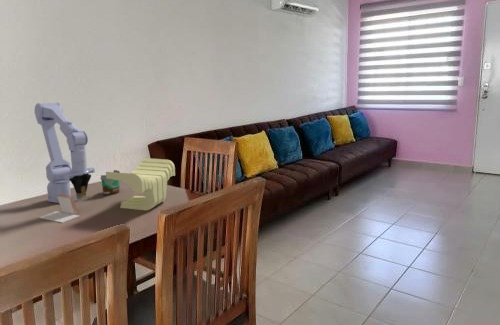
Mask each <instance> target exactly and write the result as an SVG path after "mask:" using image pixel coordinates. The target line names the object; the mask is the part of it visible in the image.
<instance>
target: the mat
mask: <svg viewBox="0 0 500 325" xmlns="http://www.w3.org/2000/svg"><path fill="white" fill-rule="evenodd" d="M79 217H80V215H78V214H76V215H73V214H68V213H63V212H62V211H57V210H55V211H53V212H50V213H47V214H44V215H42V216H39V217H38V218H39V219H42V220H46V221H51V222H56V223H61V224H63V223H67V222H69V221H71V220H74V219H76V218H79Z"/></svg>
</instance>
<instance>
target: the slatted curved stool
mask: <svg viewBox="0 0 500 325" xmlns="http://www.w3.org/2000/svg"><path fill="white" fill-rule="evenodd" d="M105 175H106V179H114V180H119V181H120V182H123V183H125V184H127V185H129V187H130V188H131V190H132V193H139V194H140V193H141V194H143V193H144V196H143V195H134V196H132V197H130V198H128V199H126V200H124V201H122V202H121V203H120V207H119V208H120V209H128V210H129V209H131V210H140V211H149V210H151V209H153V208H155V207H156V206H158V205H160V204H161V203H162V202H164V201H165V200H166V198H167V187H168V181H169V179H170V177H173V176H174V177H175V176H176V167H175V164H174V162H173V161H172V160H170V159H167V158H166V159H162V158H149V157H143V158H142V160H141V162H140V163H139V164H138V166H136V167H135V169H134V170H132V171H131V172H130V173H129V172H128V173H126V172H120V173H116V172H114V171H105Z"/></svg>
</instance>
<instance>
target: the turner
mask: <svg viewBox="0 0 500 325" xmlns="http://www.w3.org/2000/svg"><path fill="white" fill-rule="evenodd" d="M72 196H73V198H74V201H75V204H76V203H79V202H80V201H84V200H86V199H89V198H90V195H89V194H87V191H86V188H85V186H83V185H81V194H78V193H76V192H75V194H73V195H72Z"/></svg>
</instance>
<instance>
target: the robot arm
mask: <svg viewBox="0 0 500 325" xmlns="http://www.w3.org/2000/svg"><path fill="white" fill-rule="evenodd" d="M63 111H64V110H63V106H62V104H61V103H60V102H50V103H46V102H45V103H44V102H43V103H39V102H38V103H36V104H35V106H34V115H35V119H36V122H37V124H38V125H40V126H41V128H42V133H43V137H44V140H45V144H46V147H47V151H48V152H47V153H48V155H49V158H50V161H49V162H48V164H47V165H46V166H45V171H46V178H47V181H48V184H47V187H46V189H47V191H46V192H47V199H46V201H47V202H50V203H56V204H60V203H59V200H58V197H57V195H59V194H64V195H70V196H72V194H71V185H72V186H73V188H74V191H75V194H76V193H78V194H81V185H83V186H85V188H86V192H88V191H87V190H88V185H89V182H90V180H91V178H92V174H94V173H96V171H95V168H96V167H87V166H88V164H87V154H86V151H87V150H86V145H87V144H88V135H87V133H86V132H85V131H84V130H79V128H78V127H77V126H76V124H74V123H73V121H71V120H68V119H67V117H66V116H65V114H64V112H63ZM56 124H58V125H59V130H60V131H61V133H62V134H63V135H64V136H65V138H66V143H67V146H68V150H69V151H70V160H71V163H70V162H69V161H67V160H66V159H64V157H63V153H62V151H61V145H60V143H59V142H60V141H59V139H58V134H57V131H56V127H55V125H56ZM91 173H92V174H91Z"/></svg>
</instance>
